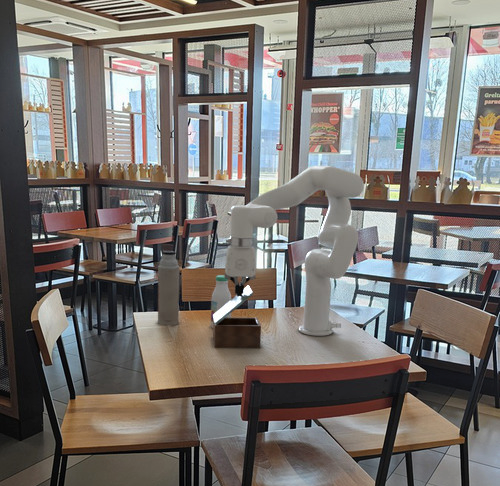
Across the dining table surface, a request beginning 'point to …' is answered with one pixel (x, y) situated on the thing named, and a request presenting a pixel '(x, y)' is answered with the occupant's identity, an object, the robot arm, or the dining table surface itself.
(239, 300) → the light blue flat slab
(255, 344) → the brown wooden box
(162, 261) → the thermos bottle
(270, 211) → the robot arm
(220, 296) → the milk bottle
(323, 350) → the dining table surface
